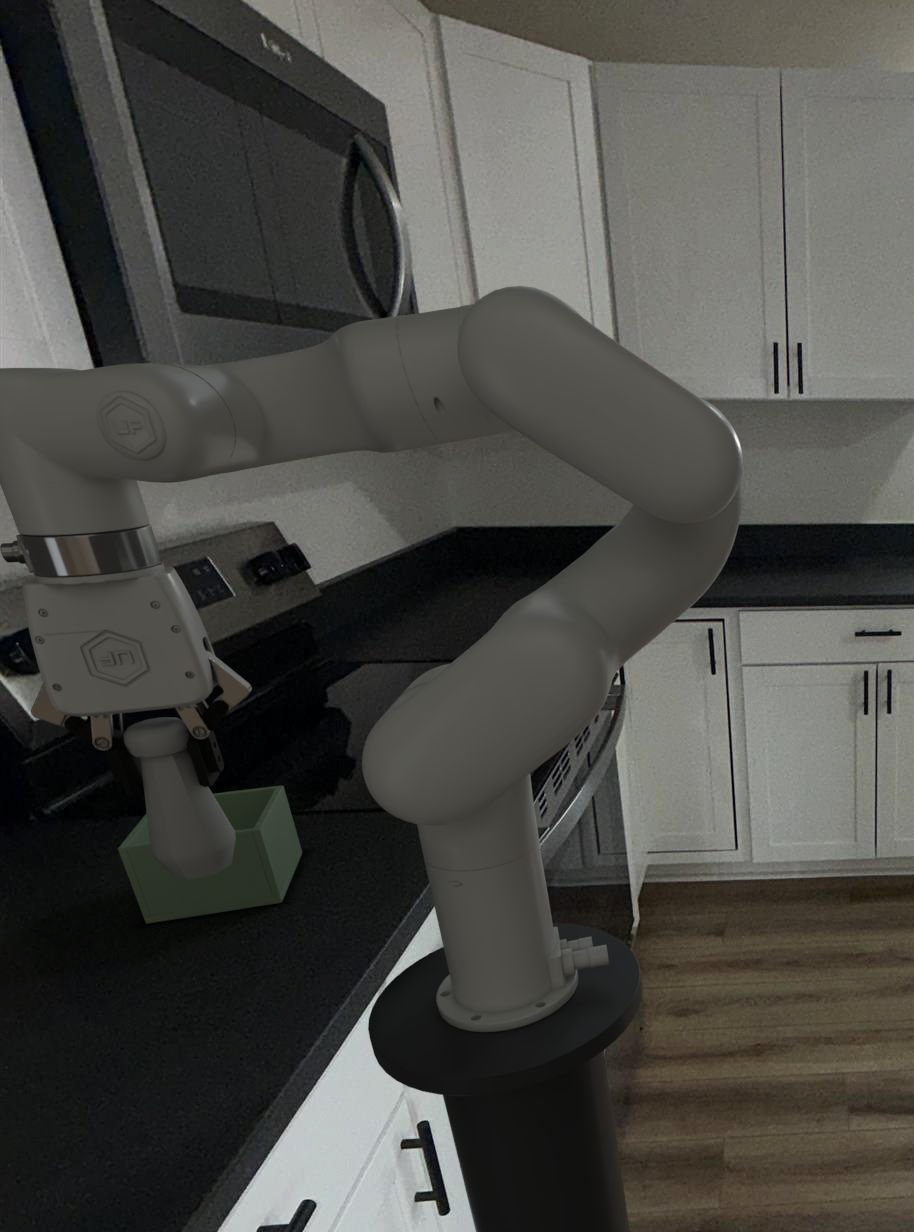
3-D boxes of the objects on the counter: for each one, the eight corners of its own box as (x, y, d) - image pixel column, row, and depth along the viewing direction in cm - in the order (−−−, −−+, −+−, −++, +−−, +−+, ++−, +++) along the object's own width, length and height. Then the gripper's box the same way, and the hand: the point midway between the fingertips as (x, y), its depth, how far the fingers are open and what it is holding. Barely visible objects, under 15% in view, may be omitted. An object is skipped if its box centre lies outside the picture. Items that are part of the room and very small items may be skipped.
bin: (302, 852, 110) (283, 785, 106) (282, 902, 99) (259, 829, 95) (180, 870, 106) (156, 800, 102) (145, 924, 95) (117, 848, 92)
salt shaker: (149, 872, 77) (94, 725, 72) (223, 845, 81) (177, 705, 76) (180, 891, 74) (126, 739, 69) (256, 863, 78) (210, 718, 73)
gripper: (-77, 572, 61) (28, 821, 69) (218, 555, 67) (285, 787, 74) (-25, 555, 67) (66, 784, 75) (240, 540, 73) (300, 755, 80)
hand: (174, 783), depth 74 cm, fingers closed on salt shaker, 4 cm apart
